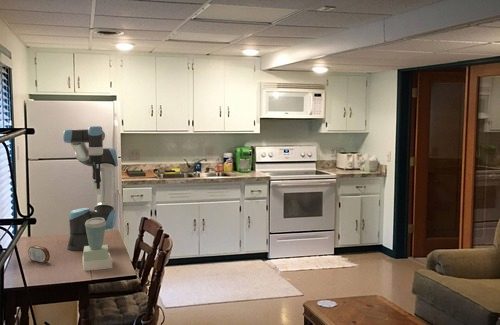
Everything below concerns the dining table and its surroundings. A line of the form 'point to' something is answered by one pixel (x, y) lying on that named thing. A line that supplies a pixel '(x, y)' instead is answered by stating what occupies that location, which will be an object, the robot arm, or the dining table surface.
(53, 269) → the dining table surface
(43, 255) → the tin
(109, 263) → the base block
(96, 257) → the top block
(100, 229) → the disposable coffee cup
